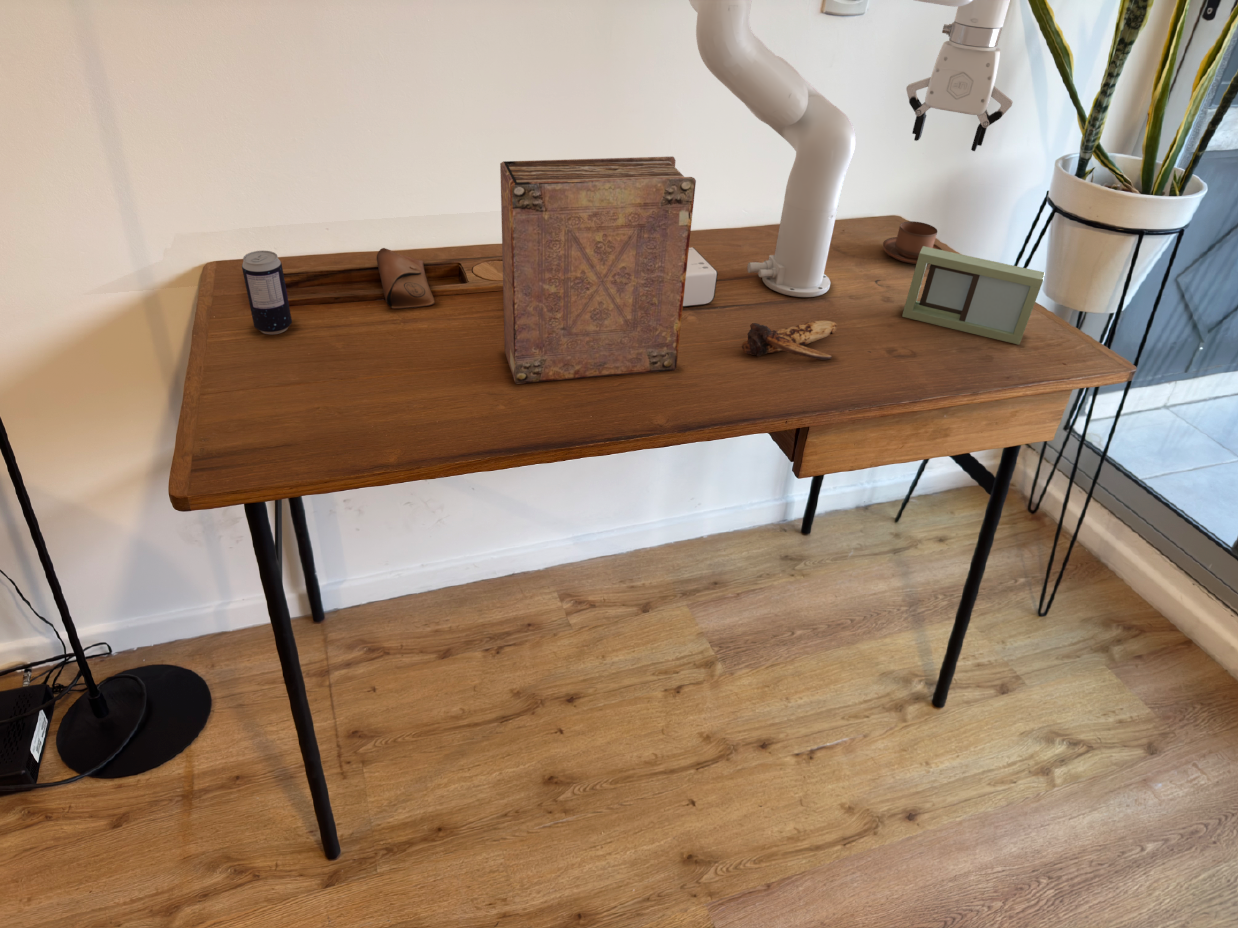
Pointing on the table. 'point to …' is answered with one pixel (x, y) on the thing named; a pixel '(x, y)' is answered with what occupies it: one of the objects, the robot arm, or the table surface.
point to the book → (593, 265)
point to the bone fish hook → (788, 339)
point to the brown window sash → (946, 289)
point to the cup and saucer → (911, 241)
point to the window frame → (980, 296)
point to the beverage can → (266, 292)
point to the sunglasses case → (403, 280)
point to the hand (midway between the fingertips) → (945, 144)
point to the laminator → (699, 280)
